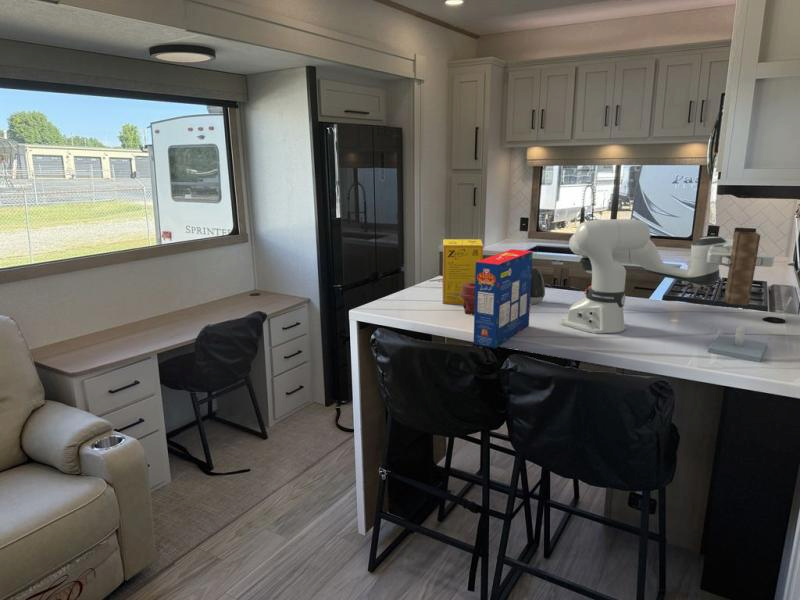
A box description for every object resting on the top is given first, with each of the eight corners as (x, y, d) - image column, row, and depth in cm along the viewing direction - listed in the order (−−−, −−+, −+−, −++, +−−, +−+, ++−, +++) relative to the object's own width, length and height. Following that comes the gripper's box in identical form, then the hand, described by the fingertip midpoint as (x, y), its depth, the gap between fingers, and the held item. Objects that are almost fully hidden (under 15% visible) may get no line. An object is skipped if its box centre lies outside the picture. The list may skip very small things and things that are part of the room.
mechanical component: (458, 315, 218) (461, 308, 227) (484, 316, 216) (485, 309, 225) (459, 285, 214) (461, 279, 224) (485, 286, 212) (486, 280, 222)
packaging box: (443, 294, 250) (443, 239, 244) (479, 294, 249) (480, 239, 242) (442, 303, 235) (443, 245, 228) (481, 304, 233) (482, 245, 227)
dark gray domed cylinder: (543, 299, 239) (545, 265, 235) (545, 306, 229) (547, 270, 225) (519, 299, 241) (520, 264, 237) (520, 305, 231) (521, 269, 227)
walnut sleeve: (727, 303, 191) (738, 234, 185) (724, 298, 197) (734, 231, 190) (748, 305, 189) (760, 235, 182) (745, 300, 195) (756, 232, 188)
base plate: (707, 352, 176) (711, 328, 174) (718, 339, 188) (721, 317, 186) (759, 362, 167) (763, 337, 165) (767, 347, 179) (771, 324, 177)
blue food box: (508, 322, 208) (511, 249, 201) (528, 326, 203) (532, 251, 196) (473, 343, 186) (475, 261, 179) (495, 348, 181) (498, 264, 174)
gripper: (767, 266, 198) (777, 274, 185) (703, 262, 205) (708, 270, 193) (770, 248, 196) (780, 255, 184) (705, 245, 203) (710, 252, 191)
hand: (743, 263), depth 188 cm, fingers closed on walnut sleeve, 6 cm apart
